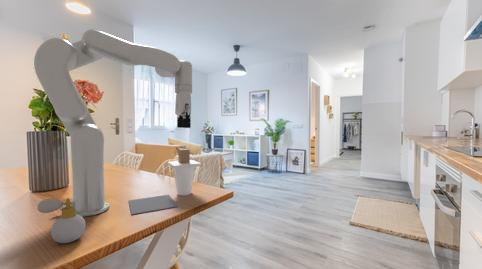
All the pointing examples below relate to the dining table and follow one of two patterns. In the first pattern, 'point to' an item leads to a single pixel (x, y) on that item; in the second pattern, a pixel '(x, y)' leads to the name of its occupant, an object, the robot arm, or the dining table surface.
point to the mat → (151, 204)
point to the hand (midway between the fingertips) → (183, 127)
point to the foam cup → (184, 180)
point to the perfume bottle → (64, 220)
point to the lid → (183, 160)
